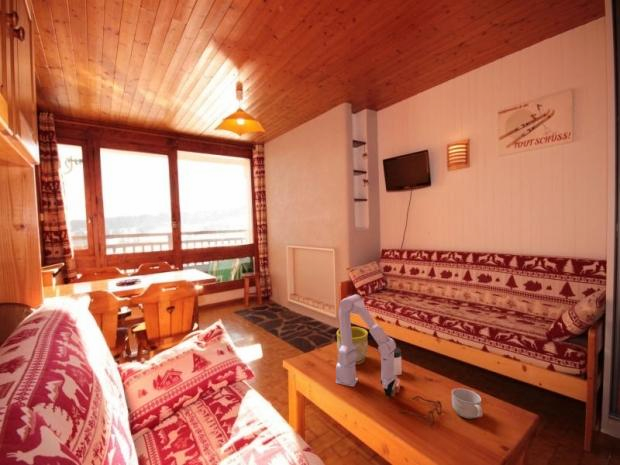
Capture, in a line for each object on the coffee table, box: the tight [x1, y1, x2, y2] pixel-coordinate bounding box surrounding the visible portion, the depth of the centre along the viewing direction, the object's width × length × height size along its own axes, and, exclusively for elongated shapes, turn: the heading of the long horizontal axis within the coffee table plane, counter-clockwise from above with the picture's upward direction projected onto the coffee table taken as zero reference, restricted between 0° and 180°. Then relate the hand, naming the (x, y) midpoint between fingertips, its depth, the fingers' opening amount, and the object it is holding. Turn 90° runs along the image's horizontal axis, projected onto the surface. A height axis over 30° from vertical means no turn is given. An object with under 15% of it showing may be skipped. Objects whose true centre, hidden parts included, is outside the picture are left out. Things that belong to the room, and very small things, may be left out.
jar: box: [394, 346, 403, 377], centre depth 156 cm, size 9×8×12 cm
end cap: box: [383, 378, 401, 394], centre depth 141 cm, size 7×7×3 cm
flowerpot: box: [336, 326, 369, 366], centre depth 171 cm, size 18×18×16 cm
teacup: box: [451, 387, 484, 420], centre depth 119 cm, size 14×11×8 cm
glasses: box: [398, 395, 443, 426], centre depth 123 cm, size 13×13×5 cm
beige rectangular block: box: [390, 380, 397, 398], centre depth 138 cm, size 3×9×4 cm, turn 154°
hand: (388, 395), depth 133 cm, fingers closed
